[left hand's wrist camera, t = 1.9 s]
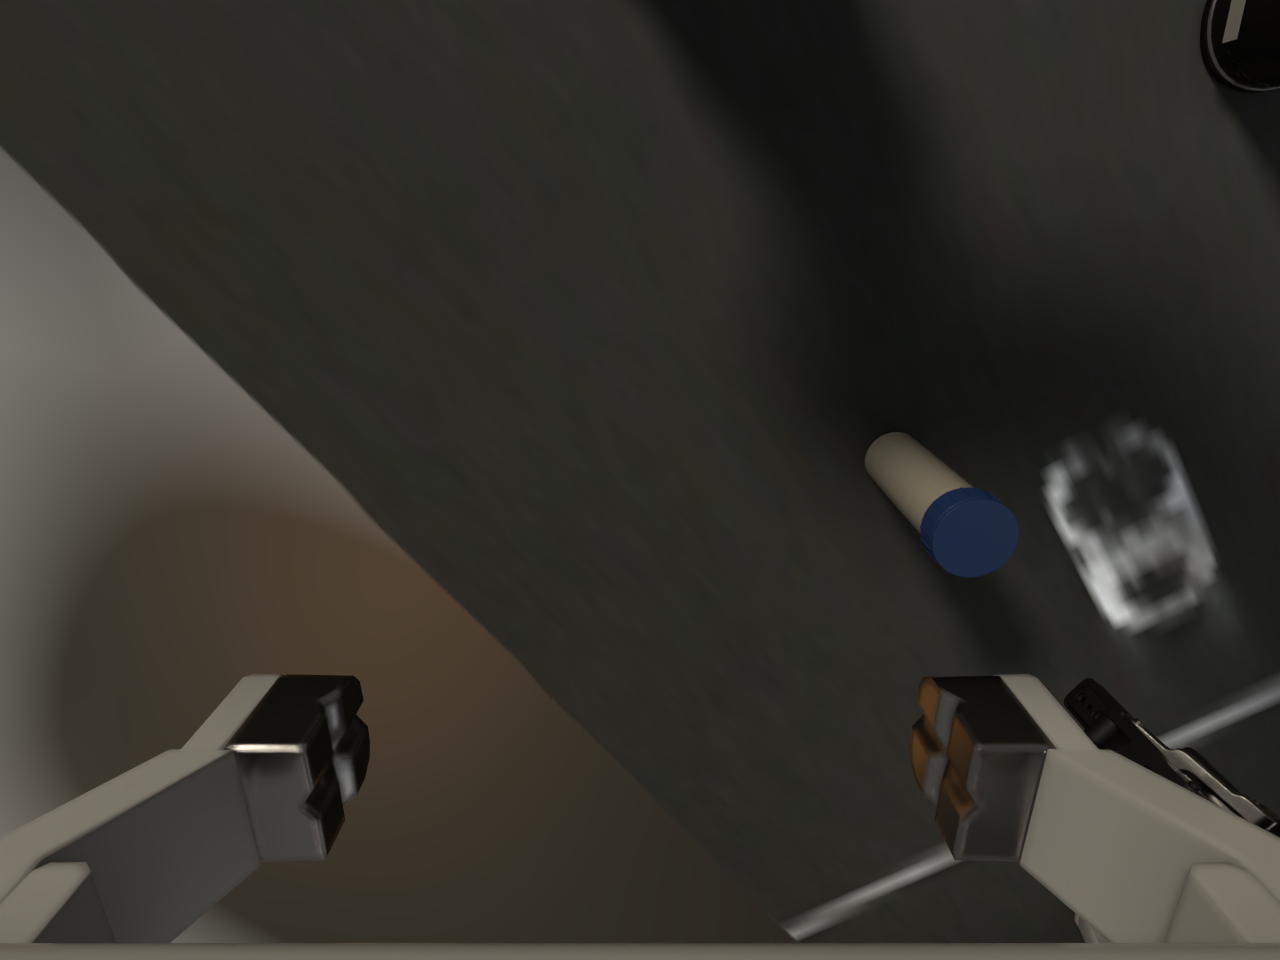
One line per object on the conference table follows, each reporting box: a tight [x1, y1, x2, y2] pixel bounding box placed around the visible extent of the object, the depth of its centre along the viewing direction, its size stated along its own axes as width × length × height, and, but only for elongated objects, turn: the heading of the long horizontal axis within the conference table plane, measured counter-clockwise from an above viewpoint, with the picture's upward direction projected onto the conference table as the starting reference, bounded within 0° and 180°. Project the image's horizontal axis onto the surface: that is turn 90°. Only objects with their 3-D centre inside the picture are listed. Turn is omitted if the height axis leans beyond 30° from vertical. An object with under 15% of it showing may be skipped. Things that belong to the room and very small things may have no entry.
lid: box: [920, 487, 1019, 578], centre depth 46 cm, size 6×6×2 cm
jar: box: [865, 432, 975, 535], centre depth 53 cm, size 5×5×15 cm
